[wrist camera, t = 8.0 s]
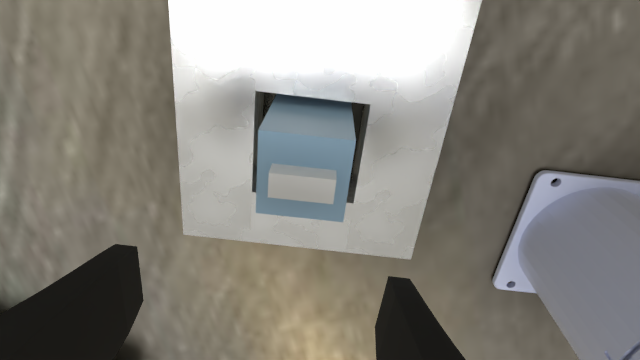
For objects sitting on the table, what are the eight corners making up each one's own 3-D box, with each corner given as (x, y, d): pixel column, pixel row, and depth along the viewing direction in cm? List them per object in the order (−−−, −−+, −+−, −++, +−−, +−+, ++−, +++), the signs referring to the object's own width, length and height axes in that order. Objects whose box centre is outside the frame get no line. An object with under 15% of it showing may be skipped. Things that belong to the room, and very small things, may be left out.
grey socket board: (543, -324, 13) (589, -390, 10) (403, 232, 23) (410, 259, 20) (174, -376, 12) (138, -454, 10) (198, 209, 22) (183, 234, 20)
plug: (350, 96, 19) (357, 149, 13) (341, 160, 21) (343, 233, 15) (279, 88, 19) (254, 138, 13) (276, 153, 21) (251, 224, 15)
